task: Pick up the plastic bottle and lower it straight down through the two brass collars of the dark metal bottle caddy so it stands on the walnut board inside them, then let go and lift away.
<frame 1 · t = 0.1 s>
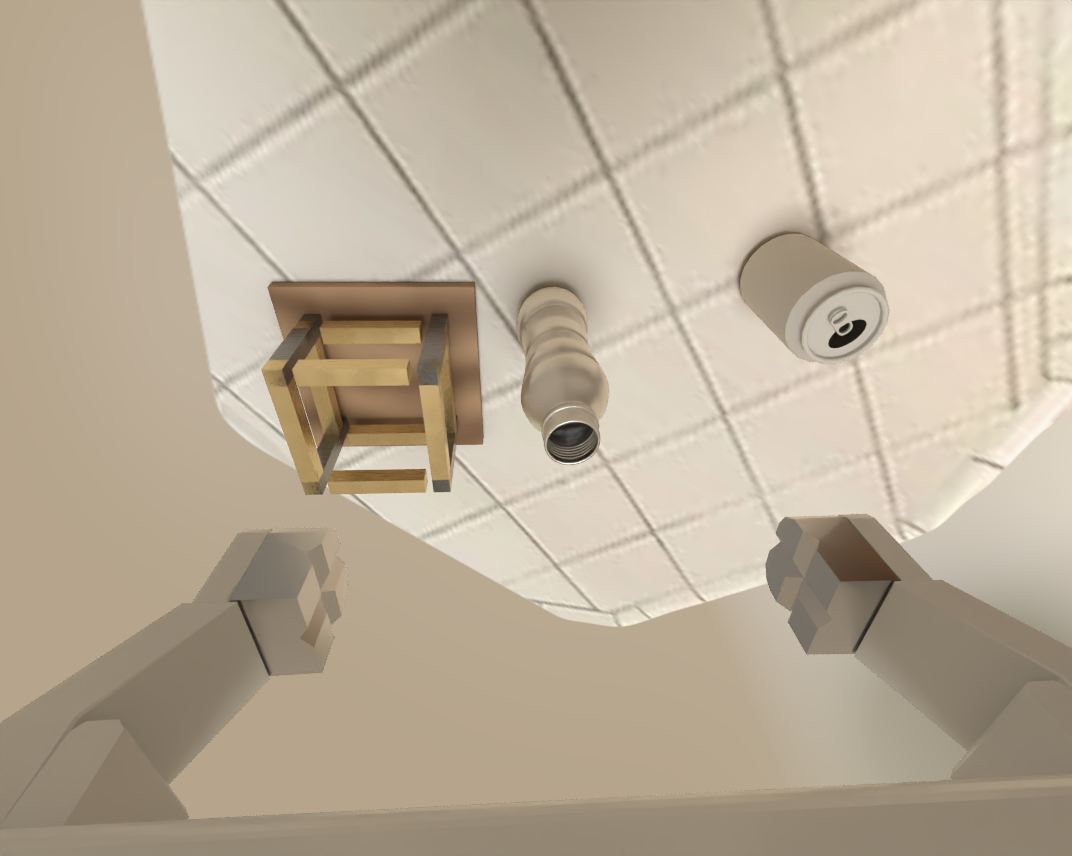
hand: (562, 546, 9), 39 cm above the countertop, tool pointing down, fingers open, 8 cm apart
plastic bottle: (549, 312, 48), on the countertop
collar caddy: (387, 374, 50), resting on walnut board
can: (776, 271, 47), on the countertop
walnut board: (390, 368, 51), on the countertop
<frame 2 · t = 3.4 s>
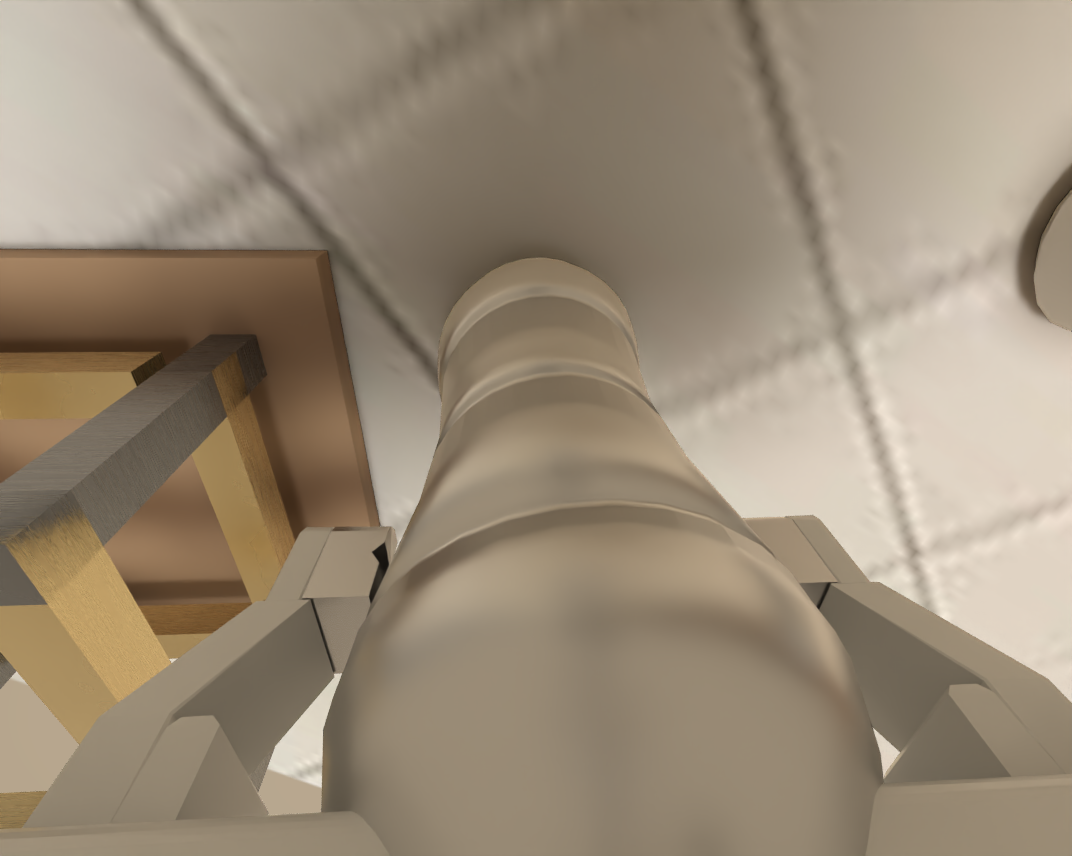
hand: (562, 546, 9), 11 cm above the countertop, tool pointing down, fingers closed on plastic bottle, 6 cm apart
plastic bottle: (533, 332, 19), on the countertop, touching gripper
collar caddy: (132, 490, 20), resting on walnut board
walnut board: (151, 472, 21), on the countertop
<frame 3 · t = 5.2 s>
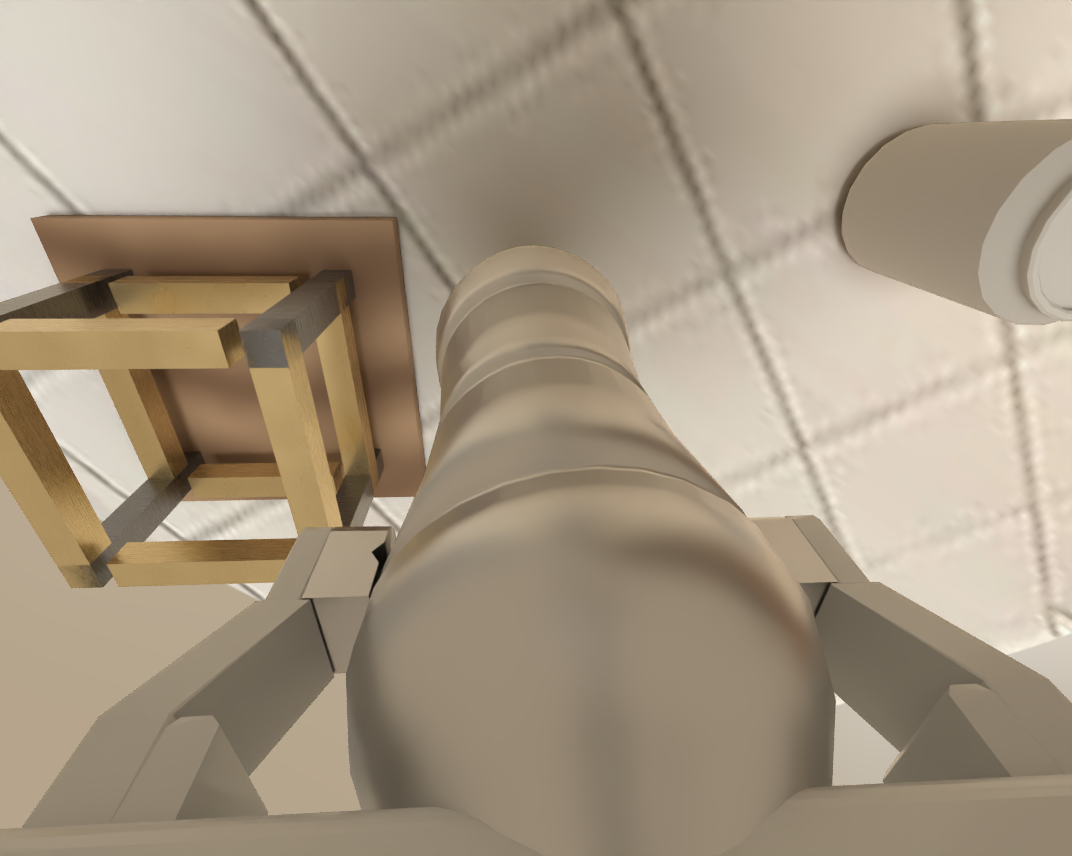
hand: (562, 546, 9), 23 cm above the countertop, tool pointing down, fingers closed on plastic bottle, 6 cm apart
plastic bottle: (528, 318, 20), point 11 cm above the countertop, touching gripper
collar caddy: (260, 379, 30), resting on walnut board
can: (897, 201, 28), on the countertop
walnut board: (268, 371, 31), on the countertop
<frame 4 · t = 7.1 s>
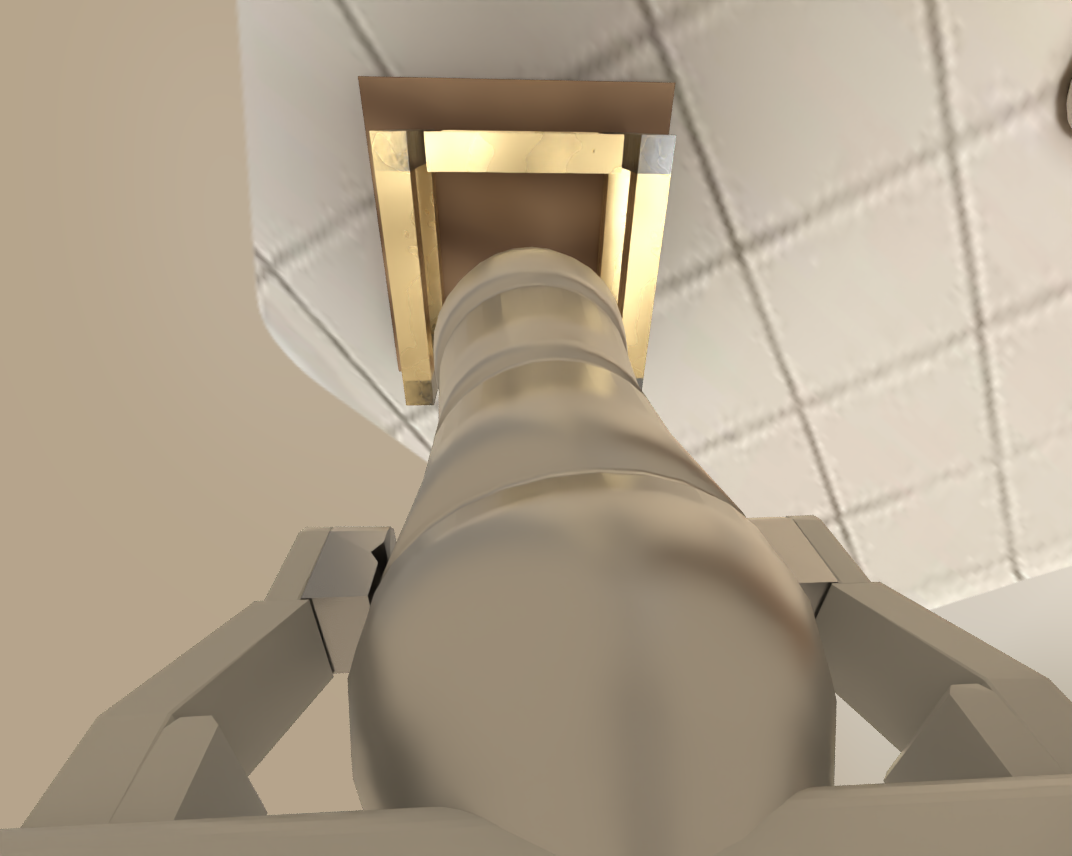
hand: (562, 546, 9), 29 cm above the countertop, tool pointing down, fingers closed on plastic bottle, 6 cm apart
plastic bottle: (525, 320, 20), point 17 cm above the countertop, touching gripper
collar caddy: (519, 245, 33), resting on walnut board
walnut board: (519, 241, 34), on the countertop
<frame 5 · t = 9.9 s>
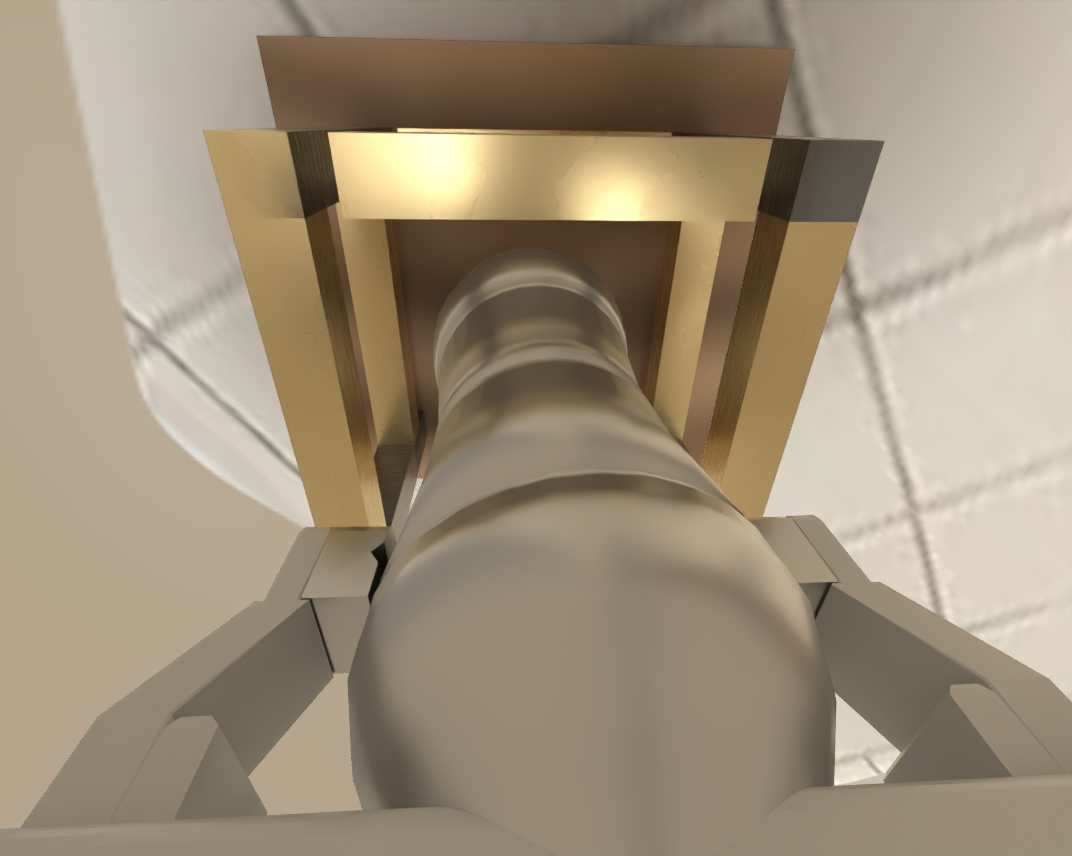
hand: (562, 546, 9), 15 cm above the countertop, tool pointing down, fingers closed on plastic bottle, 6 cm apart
plastic bottle: (525, 320, 20), point 3 cm above the countertop, touching gripper
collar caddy: (530, 306, 21), resting on walnut board
walnut board: (529, 297, 23), on the countertop
when the fingers open (13 cm above the countertop, at t = 10.9 s): plastic bottle moves 2 cm, resting on walnut board.
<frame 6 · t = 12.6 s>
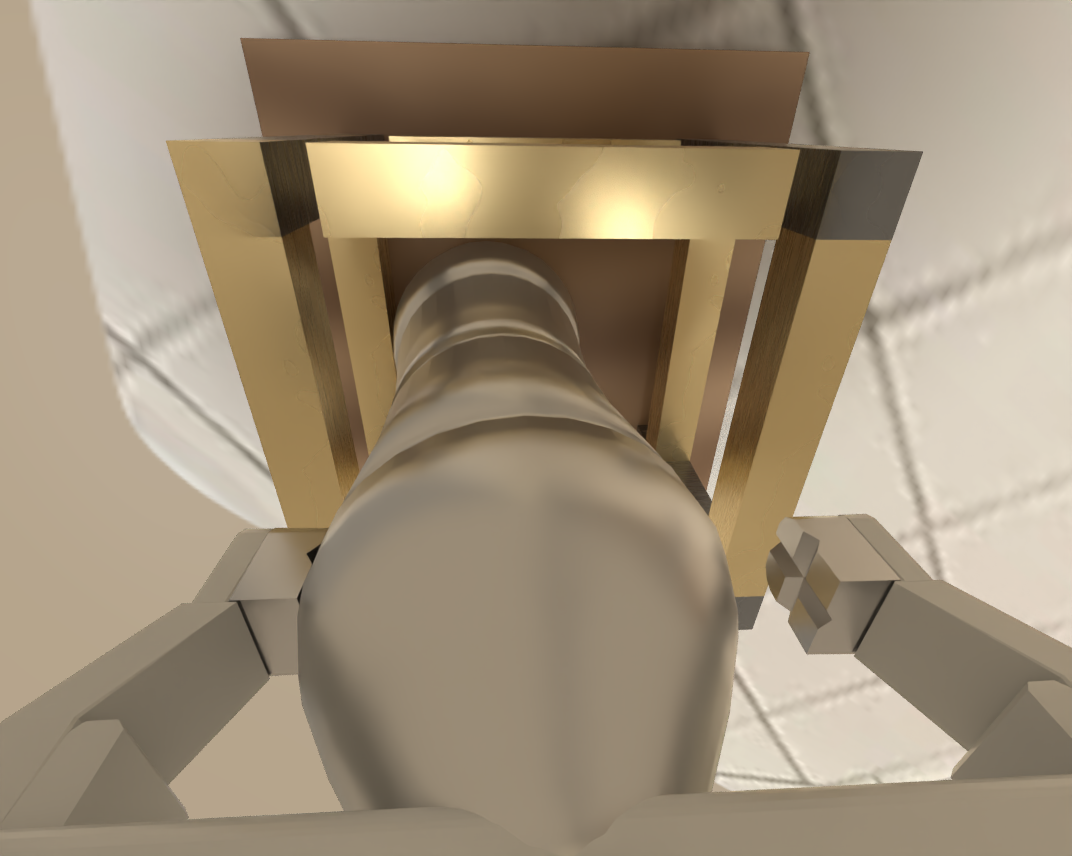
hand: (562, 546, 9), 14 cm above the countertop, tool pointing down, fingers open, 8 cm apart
plastic bottle: (484, 313, 20), point 1 cm above the countertop, touching gripper, walnut board
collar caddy: (530, 320, 21), resting on walnut board
walnut board: (529, 311, 22), on the countertop
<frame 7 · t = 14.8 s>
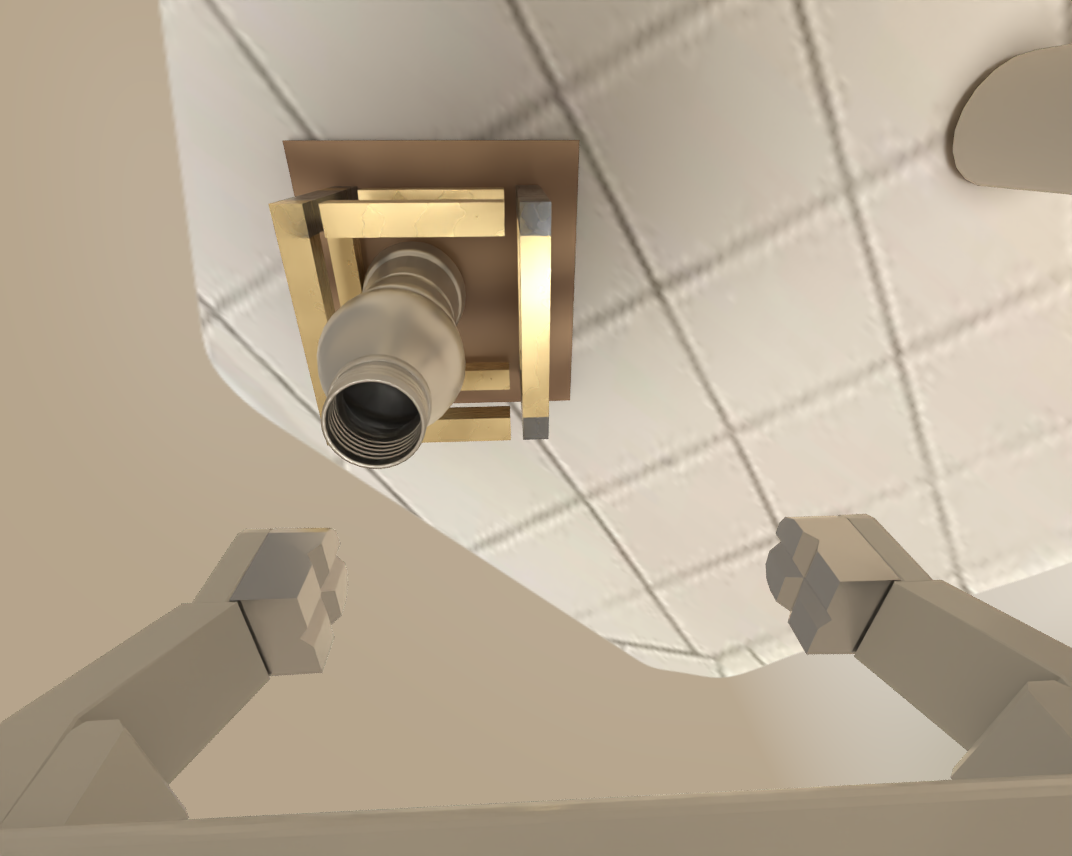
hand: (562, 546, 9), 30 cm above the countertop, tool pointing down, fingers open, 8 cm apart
plastic bottle: (418, 284, 35), point 1 cm above the countertop, touching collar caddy, walnut board
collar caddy: (446, 288, 35), resting on walnut board
can: (999, 122, 33), on the countertop
walnut board: (447, 284, 36), on the countertop
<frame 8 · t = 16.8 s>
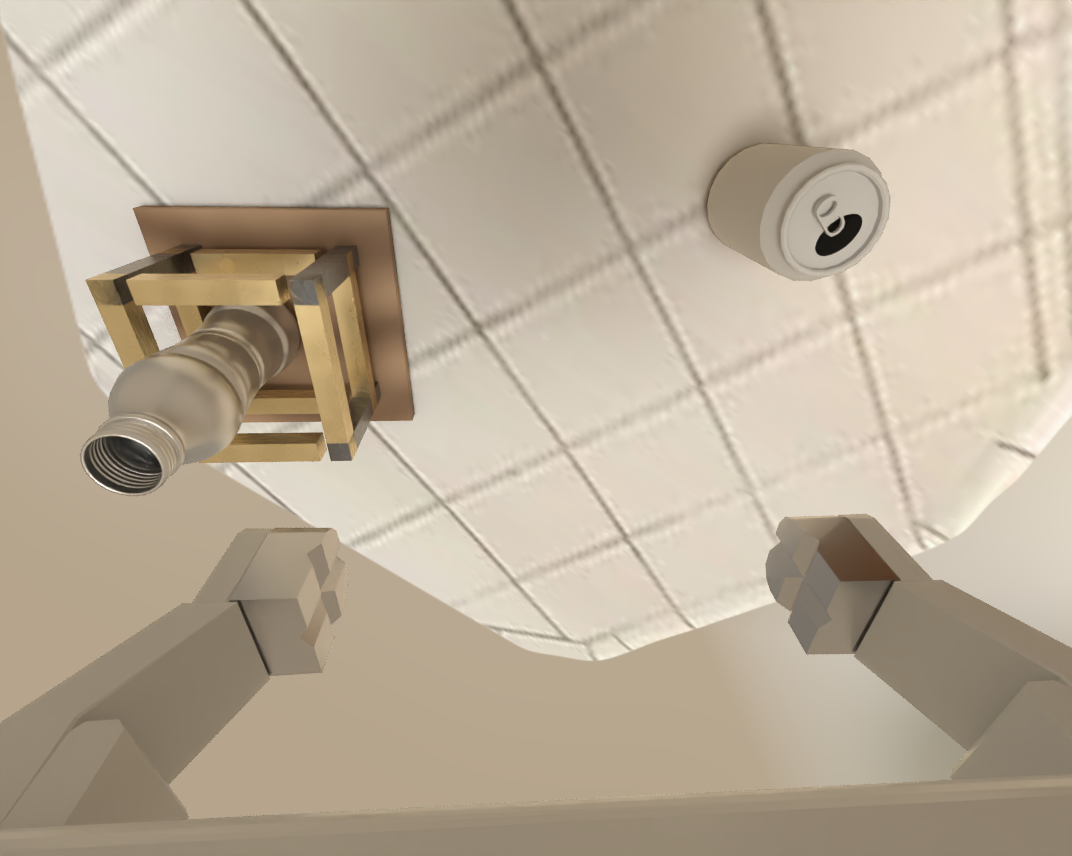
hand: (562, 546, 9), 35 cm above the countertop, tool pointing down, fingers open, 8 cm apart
plastic bottle: (265, 323, 41), point 1 cm above the countertop, touching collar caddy, walnut board
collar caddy: (289, 327, 41), resting on walnut board
can: (750, 197, 39), on the countertop
walnut board: (295, 322, 43), on the countertop
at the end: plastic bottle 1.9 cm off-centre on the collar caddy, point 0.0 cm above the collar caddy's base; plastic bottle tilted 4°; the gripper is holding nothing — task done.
